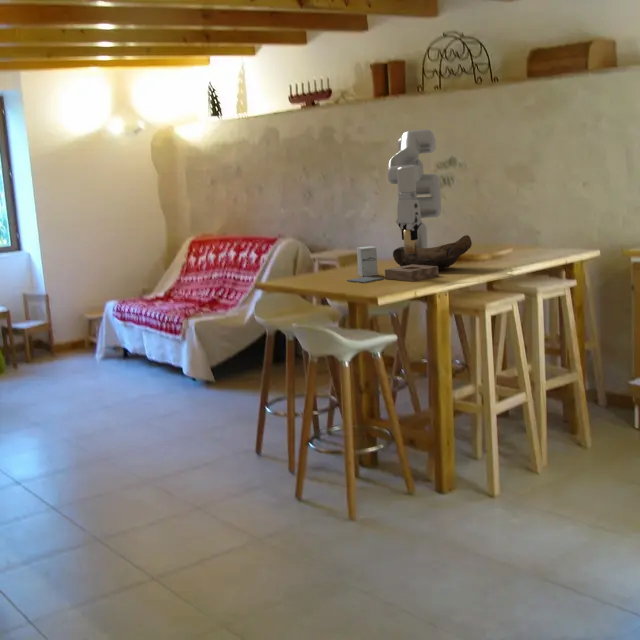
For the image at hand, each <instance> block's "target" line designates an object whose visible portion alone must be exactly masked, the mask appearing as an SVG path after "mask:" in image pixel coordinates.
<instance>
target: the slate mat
mask: <svg viewBox="0 0 640 640" xmlns="http://www.w3.org/2000/svg"><path fill="white" fill-rule="evenodd" d="M382 279H383V280H384V277H379V276H378V277H376V276H364V277H362V276H360V277H356V278H352V279H347V280H346V281H347V282H348V281H350V282H349V283H357V282H359V283H360V284H365V283H366V284H367V283H371V282H372V281H373V282H378V281H382ZM377 280H378V281H377ZM373 282H372V283H373Z"/></svg>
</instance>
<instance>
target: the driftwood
mask: <svg viewBox="0 0 640 640" xmlns="http://www.w3.org/2000/svg"><path fill="white" fill-rule="evenodd" d="M472 245H473V243H472V239H471V236H469V234H468V235H467V234H466V235H463V236H462V237H461V238H459V239H458V240H457V241H455V242H451V243H446V244H442V245H439V246H433V247H428V248H416V252H417V253H415V254H405V250H404V246H400V247H397V248H395V249H394V250H393V252H392V258H393V260H394V261H395V263H396V264H398V265H399V267H401V266H407V265H426V266H438V271H441V270H445V269H447V268H449V267H451V266H453V265H454V264H455V263H456V262H457V260H458V259H459V258H460V257H461V256H462V255H464V254H465V253H466V252H467V251H468V250H469V249H471V247H472Z"/></svg>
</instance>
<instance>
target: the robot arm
mask: <svg viewBox="0 0 640 640" xmlns="http://www.w3.org/2000/svg"><path fill="white" fill-rule="evenodd" d="M436 146H437V141H436V137H435V135H434V133H433V132H432V130H430V129H427V128H426V129H414V130H412V129H411V130H408V131H405V132H403V133H402V135H401V136H400V138H399V139H398V140H397V149H398V152H397V153H395V154H394V155H392V157H391V158H390V160H389V161H388V164H387V165H388V166H387V180H388V182H389V183H390V184H392V185H397V195H398V196H397V197H398V200H397V208H396V209H397V210H396V212H397V213H396V214H397V215H396V216H397V219H396V221H395V223H396V225H397V226H398V227H399V230H400V232H401V240H403V241H404V232H403V230H405V229H412V231H411V240H416V248H429V247H428V229H427V225H426V224H425V223H424V222H423V221H422V219H425V218H426V219H428V218H437V217H439V216H440V215H441V212H442V196H441V195H442V193H441V192H442V190H441V180H440V176H439V175H438V174H436V173H424V163H423V162H422V160H421V159H420V158H419V157H420V154H421V155H422V154H430V153H434V152H435V151H436V148H437V147H436ZM428 195H429V196H428ZM419 196H420V197H419Z"/></svg>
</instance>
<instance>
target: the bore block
mask: <svg viewBox="0 0 640 640" xmlns="http://www.w3.org/2000/svg"><path fill="white" fill-rule="evenodd" d="M434 277H439V270H438V266H426V265H407V266H397V267H396V266H395V267H391V268H386V269H384V279H385V280H393V279H397V280H396V281H403V280H405V281H406V282H415V281H420V280H424V279H425V280H426V279H430V278H434ZM414 280H415V281H414ZM405 281H404V282H405Z"/></svg>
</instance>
